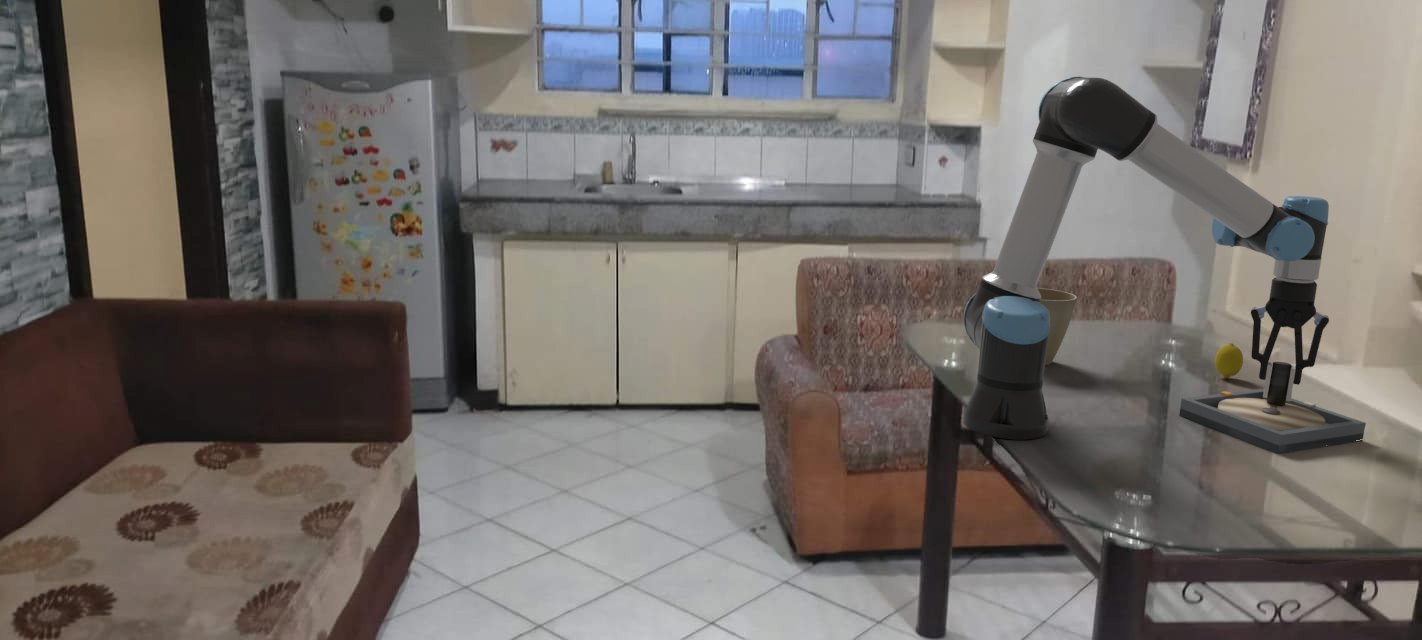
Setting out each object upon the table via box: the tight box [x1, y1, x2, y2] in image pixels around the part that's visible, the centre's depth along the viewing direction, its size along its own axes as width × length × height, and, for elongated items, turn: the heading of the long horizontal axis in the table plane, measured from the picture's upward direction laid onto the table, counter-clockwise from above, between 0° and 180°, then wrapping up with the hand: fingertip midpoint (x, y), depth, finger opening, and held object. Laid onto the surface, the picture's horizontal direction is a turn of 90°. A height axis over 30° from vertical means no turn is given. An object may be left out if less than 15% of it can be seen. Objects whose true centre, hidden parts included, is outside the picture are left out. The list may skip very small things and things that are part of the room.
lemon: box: [1214, 343, 1244, 379], centre depth 231 cm, size 6×6×8 cm
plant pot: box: [1037, 287, 1078, 366], centre depth 238 cm, size 15×15×16 cm
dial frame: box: [1178, 388, 1367, 455], centre depth 198 cm, size 22×22×4 cm
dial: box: [1218, 361, 1325, 431], centre depth 197 cm, size 18×18×10 cm
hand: (1276, 397), depth 203 cm, fingers open, 3 cm apart
